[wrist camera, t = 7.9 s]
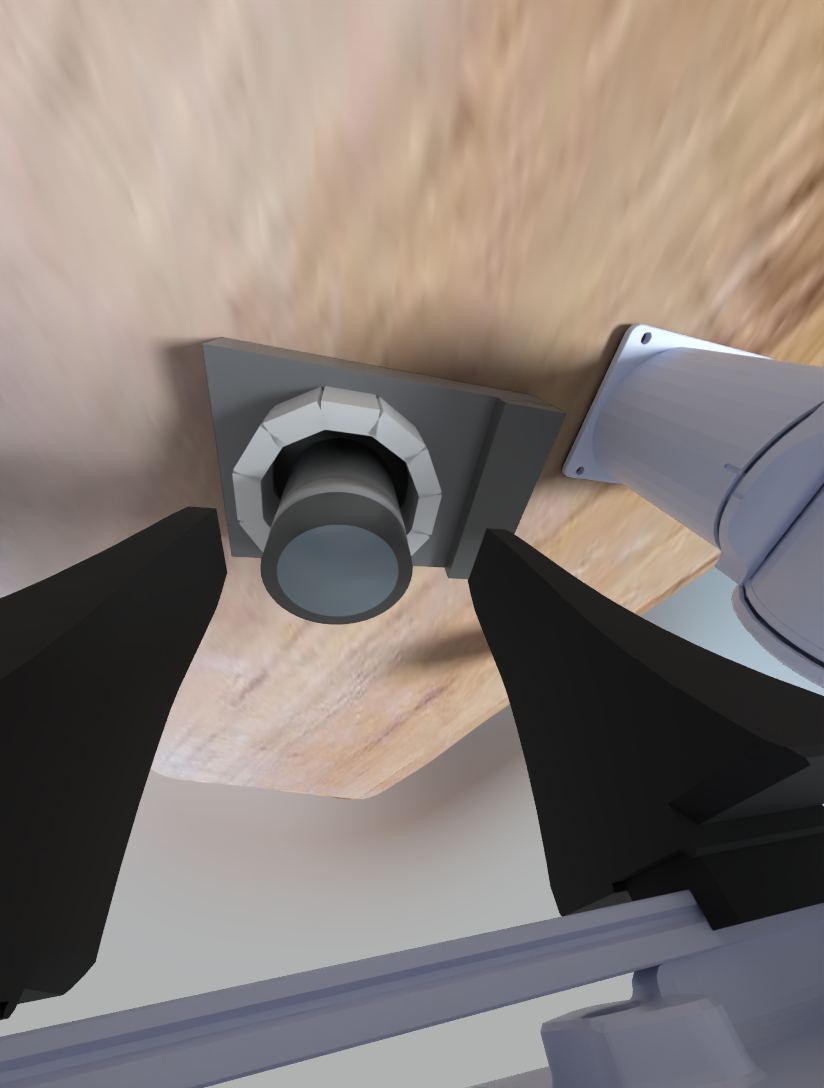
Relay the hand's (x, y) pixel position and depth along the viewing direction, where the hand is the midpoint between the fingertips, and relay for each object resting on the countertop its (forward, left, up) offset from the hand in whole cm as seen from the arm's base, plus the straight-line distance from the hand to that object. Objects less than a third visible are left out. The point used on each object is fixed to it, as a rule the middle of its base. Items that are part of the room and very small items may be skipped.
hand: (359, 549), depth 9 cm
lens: (0, +2, -8) cm, 8 cm away
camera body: (-2, +2, -10) cm, 11 cm away
